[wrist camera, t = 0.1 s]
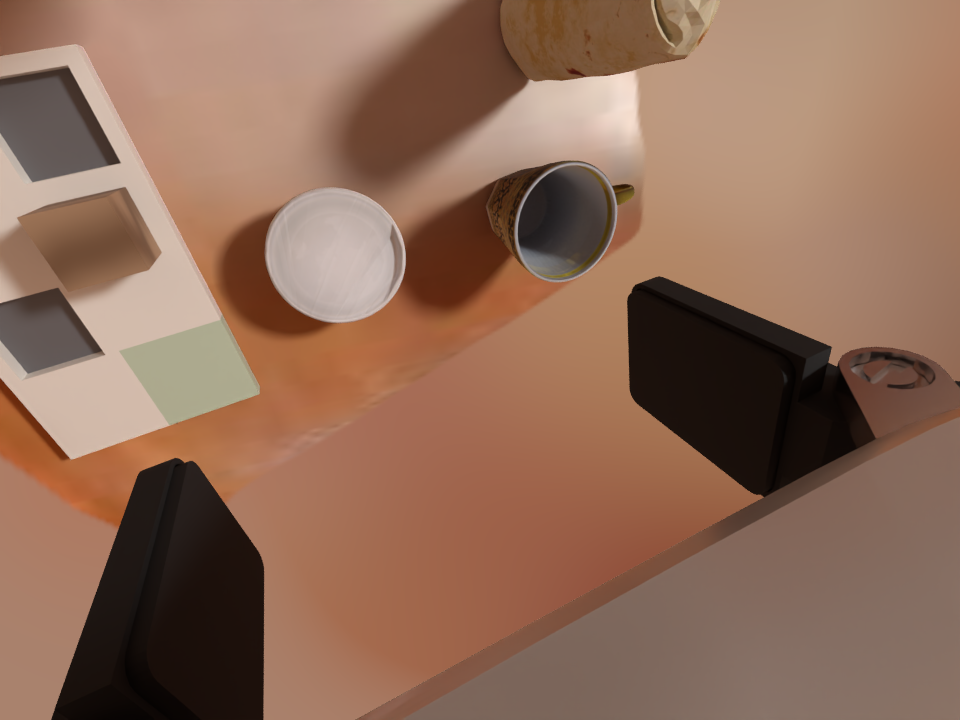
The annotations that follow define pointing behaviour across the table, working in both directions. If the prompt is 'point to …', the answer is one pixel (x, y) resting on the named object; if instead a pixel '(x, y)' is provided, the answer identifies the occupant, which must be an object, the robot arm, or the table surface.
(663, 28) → the food model
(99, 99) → the trap deck
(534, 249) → the ceramic cup
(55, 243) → the walnut block
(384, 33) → the table surface
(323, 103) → the table surface
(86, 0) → the table surface
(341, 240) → the ramekin
